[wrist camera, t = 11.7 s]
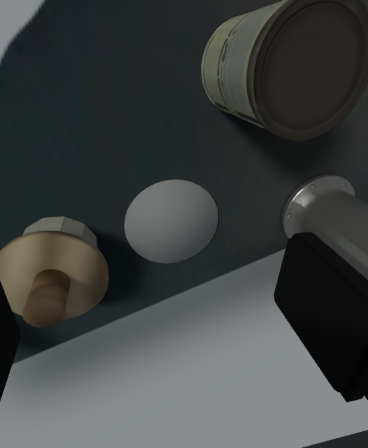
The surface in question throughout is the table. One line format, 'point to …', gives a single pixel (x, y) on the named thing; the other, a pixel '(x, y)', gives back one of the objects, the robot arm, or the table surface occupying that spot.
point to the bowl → (63, 228)
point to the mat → (171, 221)
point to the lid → (52, 276)
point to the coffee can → (290, 65)
